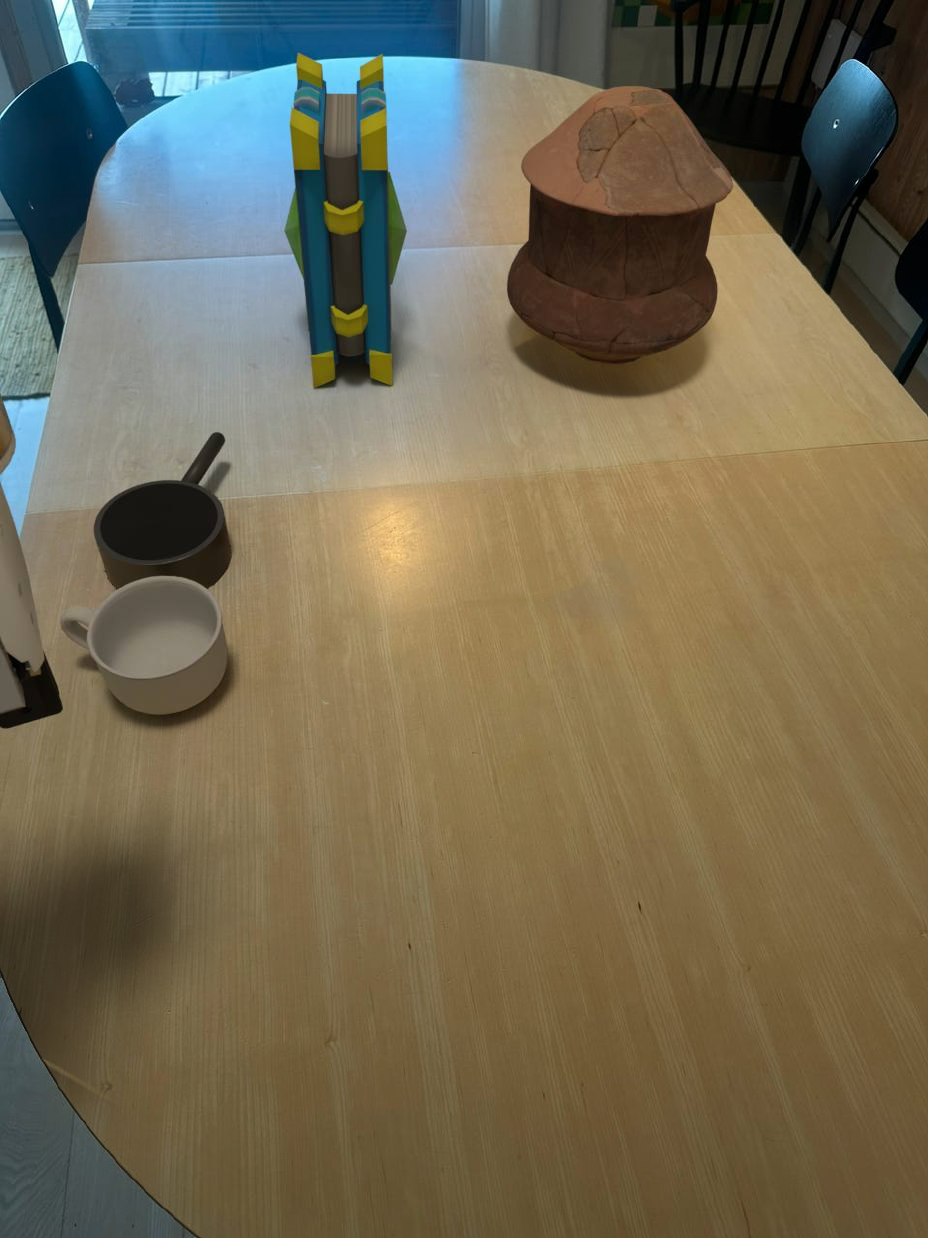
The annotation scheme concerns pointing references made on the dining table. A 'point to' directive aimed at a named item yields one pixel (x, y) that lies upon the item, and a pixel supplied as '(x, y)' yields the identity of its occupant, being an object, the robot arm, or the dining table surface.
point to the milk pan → (166, 528)
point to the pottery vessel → (619, 228)
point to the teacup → (154, 642)
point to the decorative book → (344, 218)
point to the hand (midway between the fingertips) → (30, 709)
